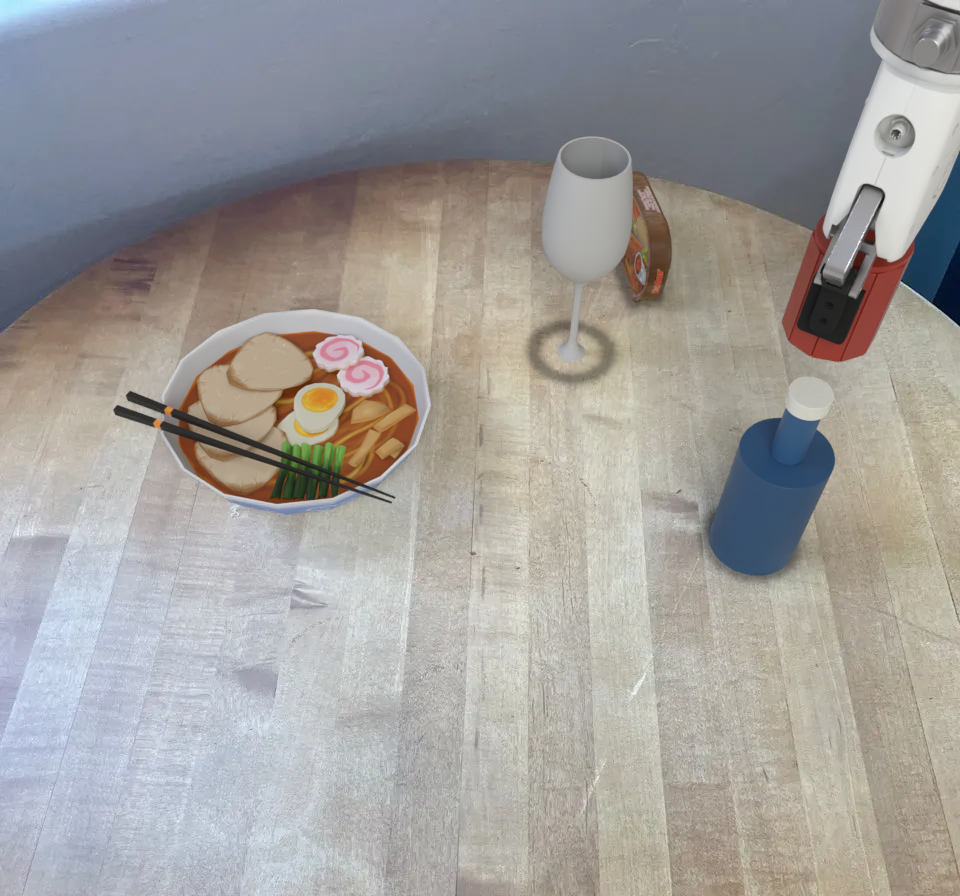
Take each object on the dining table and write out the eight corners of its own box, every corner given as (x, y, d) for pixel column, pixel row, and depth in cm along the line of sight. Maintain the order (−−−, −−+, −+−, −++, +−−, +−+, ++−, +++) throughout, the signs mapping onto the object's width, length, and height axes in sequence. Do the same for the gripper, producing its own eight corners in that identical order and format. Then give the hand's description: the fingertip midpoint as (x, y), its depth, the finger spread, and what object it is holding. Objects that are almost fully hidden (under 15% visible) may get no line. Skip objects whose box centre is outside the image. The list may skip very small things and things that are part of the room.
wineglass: (521, 375, 96) (535, 175, 78) (544, 324, 100) (562, 122, 82) (597, 394, 95) (628, 196, 77) (617, 342, 98) (652, 141, 80)
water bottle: (803, 536, 86) (878, 380, 71) (771, 595, 83) (842, 445, 67) (727, 502, 88) (783, 342, 72) (692, 558, 85) (744, 404, 69)
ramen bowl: (485, 419, 93) (487, 351, 86) (370, 604, 82) (361, 544, 75) (255, 338, 98) (239, 268, 91) (117, 502, 87) (87, 437, 80)
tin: (598, 225, 108) (608, 153, 101) (626, 223, 108) (638, 150, 101) (634, 319, 100) (648, 248, 93) (664, 316, 100) (680, 244, 93)
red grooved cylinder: (885, 319, 68) (928, 225, 62) (853, 374, 65) (894, 281, 59) (803, 288, 70) (837, 193, 64) (768, 340, 67) (800, 246, 61)
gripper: (976, 123, 46) (846, 406, 61) (1072, -35, 53) (936, 251, 69) (821, 73, 47) (734, 359, 63) (936, -72, 55) (833, 214, 71)
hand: (840, 301), depth 66 cm, fingers closed on red grooved cylinder, 6 cm apart
